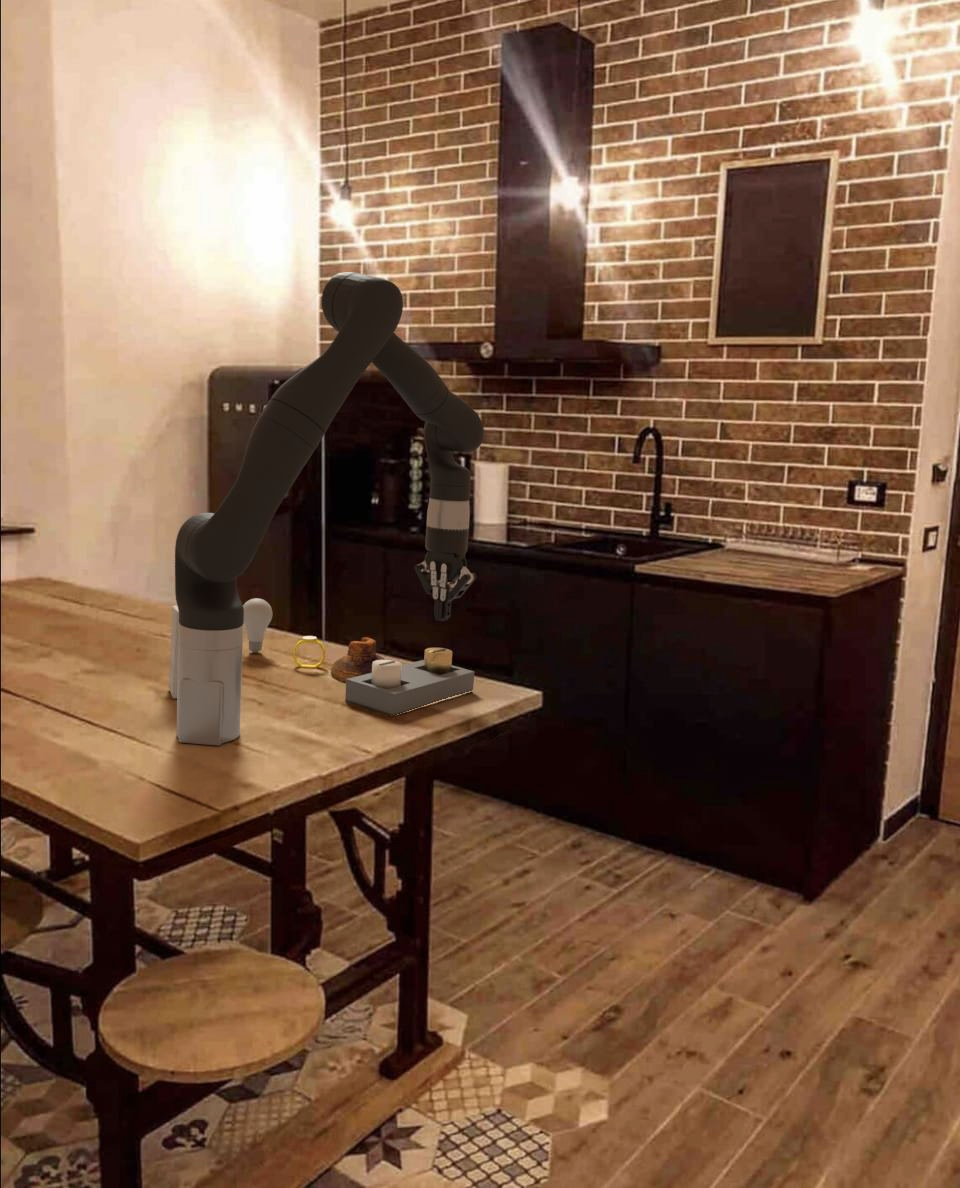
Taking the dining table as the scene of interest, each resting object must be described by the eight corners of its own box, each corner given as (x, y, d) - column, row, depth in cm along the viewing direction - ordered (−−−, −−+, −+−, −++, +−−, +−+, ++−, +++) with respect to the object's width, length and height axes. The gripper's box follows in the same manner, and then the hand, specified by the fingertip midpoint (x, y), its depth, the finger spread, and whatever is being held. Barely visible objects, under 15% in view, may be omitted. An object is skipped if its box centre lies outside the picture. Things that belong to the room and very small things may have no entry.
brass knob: (439, 677, 181) (440, 655, 180) (417, 671, 183) (419, 649, 183) (456, 672, 185) (457, 651, 184) (435, 667, 187) (436, 645, 187)
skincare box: (172, 699, 167) (174, 612, 164) (168, 689, 173) (169, 604, 170) (223, 697, 171) (226, 611, 168) (218, 687, 176) (220, 603, 173)
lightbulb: (267, 657, 197) (269, 602, 195) (236, 655, 197) (237, 600, 195) (273, 650, 203) (276, 596, 201) (243, 647, 203) (245, 594, 201)
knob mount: (393, 717, 167) (394, 693, 166) (345, 701, 173) (346, 679, 173) (472, 692, 185) (474, 671, 184) (426, 679, 191) (428, 658, 190)
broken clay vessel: (355, 689, 182) (357, 650, 181) (318, 672, 191) (320, 635, 189) (406, 680, 190) (408, 643, 188) (368, 665, 198) (370, 629, 197)
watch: (293, 669, 191) (292, 639, 190) (294, 666, 194) (293, 635, 193) (325, 669, 192) (324, 638, 191) (325, 665, 195) (324, 635, 194)
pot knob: (386, 692, 169) (388, 668, 169) (365, 685, 172) (366, 661, 171) (406, 686, 173) (407, 663, 173) (384, 680, 176) (386, 657, 175)
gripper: (490, 528, 178) (483, 623, 181) (432, 518, 185) (426, 610, 189) (464, 531, 172) (457, 629, 175) (405, 521, 180) (400, 616, 183)
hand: (441, 619), depth 182 cm, fingers closed
